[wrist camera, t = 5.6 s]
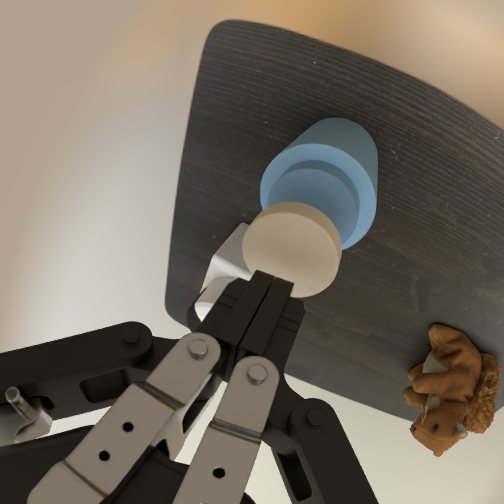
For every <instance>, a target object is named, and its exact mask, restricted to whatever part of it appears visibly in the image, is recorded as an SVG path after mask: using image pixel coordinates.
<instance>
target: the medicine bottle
mask: <svg viewBox="0 0 504 504" xmlns="http://www.w3.org/2000/svg"><path fill="white" fill-rule="evenodd" d="M249 226H250V225H248V224H246V223H244V222H243V223H241V224H240V225H239V226H238V227H237V228H236V230H235V231H234V232H233V233H232V234H231V235H230V237H229V238H228V239H227V240H226V241H225V242H224V244H223V245H222V246H221V247H220V248H219V249H218V251H217V252H216V253H215V254H214V255H213V257H212V260H211V263H210V266H209V269H208V272H207V275H206V278H205V280H204V283H203V286H202V289H201V292H200V294H199V296H198V297H197V298H196V300H195V301H194V302H193V303H192V305H191V306H190V307H189V309H188V311H187V314H186V318H187V323H188V326H189V329H190V330H191V332H192V333H194V332H195V330H196V329H197V328H198V326H199V325H200V324H201V322H202V321H203V319H204V318H205V316H206V315H207V313H208V312H209V310H210V309H211V308H212V306H213V305H214V303H216V300H217V299H218V297H219V296H220V295H221V293H222V292H223V290H224V289H225V287H226V286H227V284H228V283H230V282H232V281H233V280H235V279H237V278H238V277H240V278H242V279H245V280H248V281H249V280H250V279H251V277H252V274H251V272H250V271H249V269H248V268H247V265H246V263H245V261H244V258H243V252H242V243H243V238H244V235H245V232H246V230H247V229H248V227H249Z"/></svg>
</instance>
